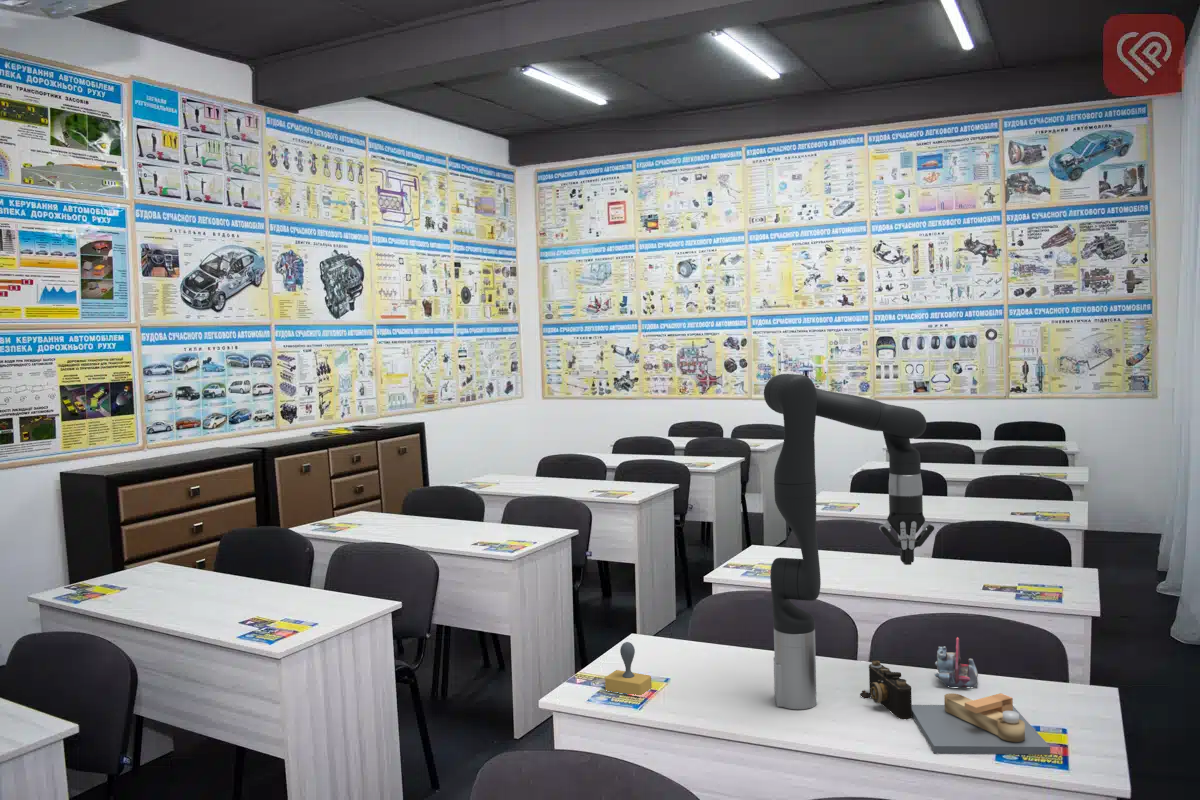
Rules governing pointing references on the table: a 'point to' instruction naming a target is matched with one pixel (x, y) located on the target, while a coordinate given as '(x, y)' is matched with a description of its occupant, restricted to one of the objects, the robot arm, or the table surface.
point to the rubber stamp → (628, 676)
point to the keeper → (991, 703)
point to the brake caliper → (955, 668)
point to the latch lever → (985, 719)
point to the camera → (889, 690)
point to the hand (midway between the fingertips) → (907, 564)
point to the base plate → (972, 734)
